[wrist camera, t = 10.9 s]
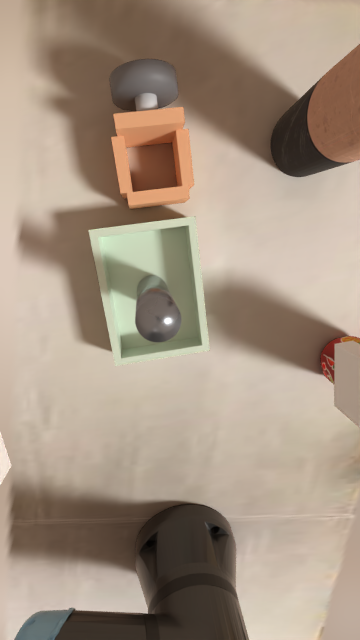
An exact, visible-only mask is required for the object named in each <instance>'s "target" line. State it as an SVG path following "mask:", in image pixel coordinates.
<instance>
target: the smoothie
mask: <svg viewBox="0 0 360 640" xmlns="http://www.w3.org/2000/svg"><path fill="white" fill-rule="evenodd" d="M348 341H355V342H357V343H359V344H360V338H357V337H353V336H347V337H341V338H337V339H334V340H333V341H331V342H329V343H328V344H327V345H326V346H325V348H324V350H323V351H322V354H321V358H320V362H321V366H322V371H323V373H324V375H325V377H326V378H327V379H328V380H329V381H331V382H332V383H333V384H334V364H335V344H336V343H342V342H348Z"/></svg>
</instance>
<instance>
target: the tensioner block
mask: <svg viewBox="0 0 360 640" xmlns="http://www.w3.org/2000/svg"><path fill="white" fill-rule="evenodd" d="M109 81H110V87H111V93H112V99H113V103H114V104H115V105H116V106H117V107H118V108H121V109H124V110H128V111H136V112H126V113H116V114H113V116H114V122H115V128H116V132H117V136H116V137H111V139H112V145H113V151H114V157H115V163H116V169H117V175H118V181H119V187H120V193H121V195H122V197H123V198H128V205H129V207H130V209H135V208H143V207H151V206H159V205H167V204H176V203H184V202H186V201H187V200H188V199H189V198H190V196H189V190H190V188H191V187H192V186H193V185H194V178H193V168H192V159H191V150H190V140H189V131H188V129H183V126H184V123H185V118H184V109H183V107H176V108H166V109H158V108H162V107H164V106H167V105H169V104H170V103H172V102H173V101H174V100H175V99H176V98H177V97H178V86H177V77H176V70H175V68H174V67H173V66H172V65H171V64H169V63H167V62H165V61H162V60H156V59H141V60H135V61H131V62H128V63H125V64H123V65H121V66H119V67H117V68H116V69H115V70H114V71H113V72H112V73H111V75H110V78H109ZM163 143H172V145H173V154H174V162H175V170H176V179H177V187H171V188H162V189H154V190H145V191H137V192H133V189H132V183H131V176H130V170H129V163H128V157H127V151H126V147H135V146H144V145H154V144H163Z"/></svg>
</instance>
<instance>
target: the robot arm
mask: <svg viewBox="0 0 360 640" xmlns="http://www.w3.org/2000/svg"><path fill="white" fill-rule="evenodd" d="M334 406H335V407H337V408H338V409H339V410H340V411H341V412H342V413H344V414H345V415H346V416H347V417H348V418H349V419H350V420H352V421H353V422H354V423H355V424H356V425H357V426H358V427H360V344H359V343H357V342H355V341H348V342H342V343H336V344H335V364H334ZM10 467H11V463H10V460H9V457H8V454H7V451H6V448H5V445H4V442H3V439H2V436H1V432H0V485H1V483H2V481H3V479H4V478H5V476H6V474H7V473H8V471H9V469H10ZM135 565H136V571H137V574H138V578H139V581H140V584H141V587H142V591H143V594H144V597H145V600H146V604H147V607H148V614H143V613H124V612H100V611H78V610H75V608H69V609H68V610H53V611H40V612H37V613H35V614H33V615H32V616H31V617H29V618H28V619H27V620H26V622H25V623H24V624H23V625H22V627H21V629H20V630H19V632H18V634H17V635H16V637H15V639H14V640H249V638H248V634H247V630H246V627H245V623H244V619H243V616H242V612H241V608H240V605H239V601H238V597H237V593H236V545H235V540H234V537H233V533H232V530H231V527H230V525H229V523H228V521H227V520H226V519H225V518H224V517H223V516H222V515H221V514H220V513H219V512H217V511H215V510H213V509H211V508H208V507H205V506H201V505H181V506H176V507H172V508H169V509H167V510H165V511H162V512H161V513H159V514H157V515H156V516H154V517H153V518H152V519H150V520H149V521H148V522H147V523H146V524H145V526H144V527H143V528H142V530H141V531H140V533H139V535H138V538H137V541H136V546H135Z"/></svg>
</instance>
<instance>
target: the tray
mask: <svg viewBox="0 0 360 640" xmlns="http://www.w3.org/2000/svg"><path fill="white" fill-rule="evenodd" d="M88 231H89V236H90V241H91V246H92V251H93V256H94V261H95V266H96V271H97V277H98V282H99V287H100V292H101V297H102V302H103V307H104V312H105V317H106V322H107V327H108V332H109V337H110V342H111V347H112V352H113V357H114V362H115V366H119V365H125V364H131V363H137V362H143V361H149V360H156V359H162V358H168V357H174V356H180V355H186V354H192V353H198V352H205V351H210V348H209V339H208V329H207V320H206V311H205V302H204V292H203V283H202V274H201V265H200V255H199V246H198V237H197V227H196V218H195V216H193V217H186V218H178V219H170V220H162V221H154V222H146V223H139V224H131V225H123V226H115V227H107V228H100V229H92V230H88ZM149 275H155V276H158V277H160V278H162V279H163V280H164V281H165V283H166V285H167V287H168V289H169V291H170V293H171V295H172V297H173V299H174V301H175V303H176V305H177V307H178V309H179V311H180V314H181V326H180V329H179V331H178V332H177V334H176V335H175V336H174V337H173V338H171V339H169V340H167V341H165V342H151V341H149V340H147V339H145V338H144V337H142V336H141V335H140V333H139V332H138V330H137V328H136V324H135V315H136V297H137V286H138V284H139V282H140V281H141V280H142V279H143V278H144V277H146V276H149Z"/></svg>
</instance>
